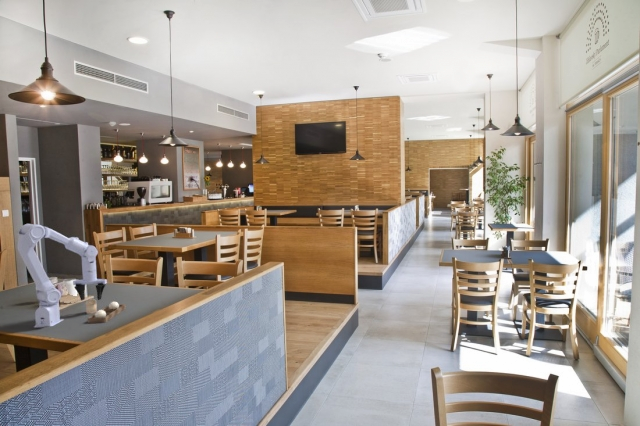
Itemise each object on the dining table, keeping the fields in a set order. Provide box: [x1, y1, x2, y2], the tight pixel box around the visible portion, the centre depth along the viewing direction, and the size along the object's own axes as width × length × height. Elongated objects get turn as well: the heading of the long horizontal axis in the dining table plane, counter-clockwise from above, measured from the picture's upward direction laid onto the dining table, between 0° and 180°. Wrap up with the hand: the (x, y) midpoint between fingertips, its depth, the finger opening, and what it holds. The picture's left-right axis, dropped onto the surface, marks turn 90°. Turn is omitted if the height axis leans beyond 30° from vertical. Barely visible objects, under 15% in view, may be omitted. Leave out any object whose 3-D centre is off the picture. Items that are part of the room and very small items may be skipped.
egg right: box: [108, 301, 120, 309], centre depth 207 cm, size 4×4×4 cm
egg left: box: [94, 309, 106, 318], centre depth 193 cm, size 4×4×4 cm
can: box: [62, 277, 79, 296], centre depth 227 cm, size 6×6×12 cm
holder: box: [87, 303, 127, 324], centre depth 200 cm, size 21×8×3 cm, turn 2°
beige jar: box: [85, 298, 98, 315], centre depth 206 cm, size 4×4×7 cm
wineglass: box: [47, 276, 59, 286], centre depth 230 cm, size 7×7×12 cm
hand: (91, 299), depth 206 cm, fingers open, 7 cm apart
